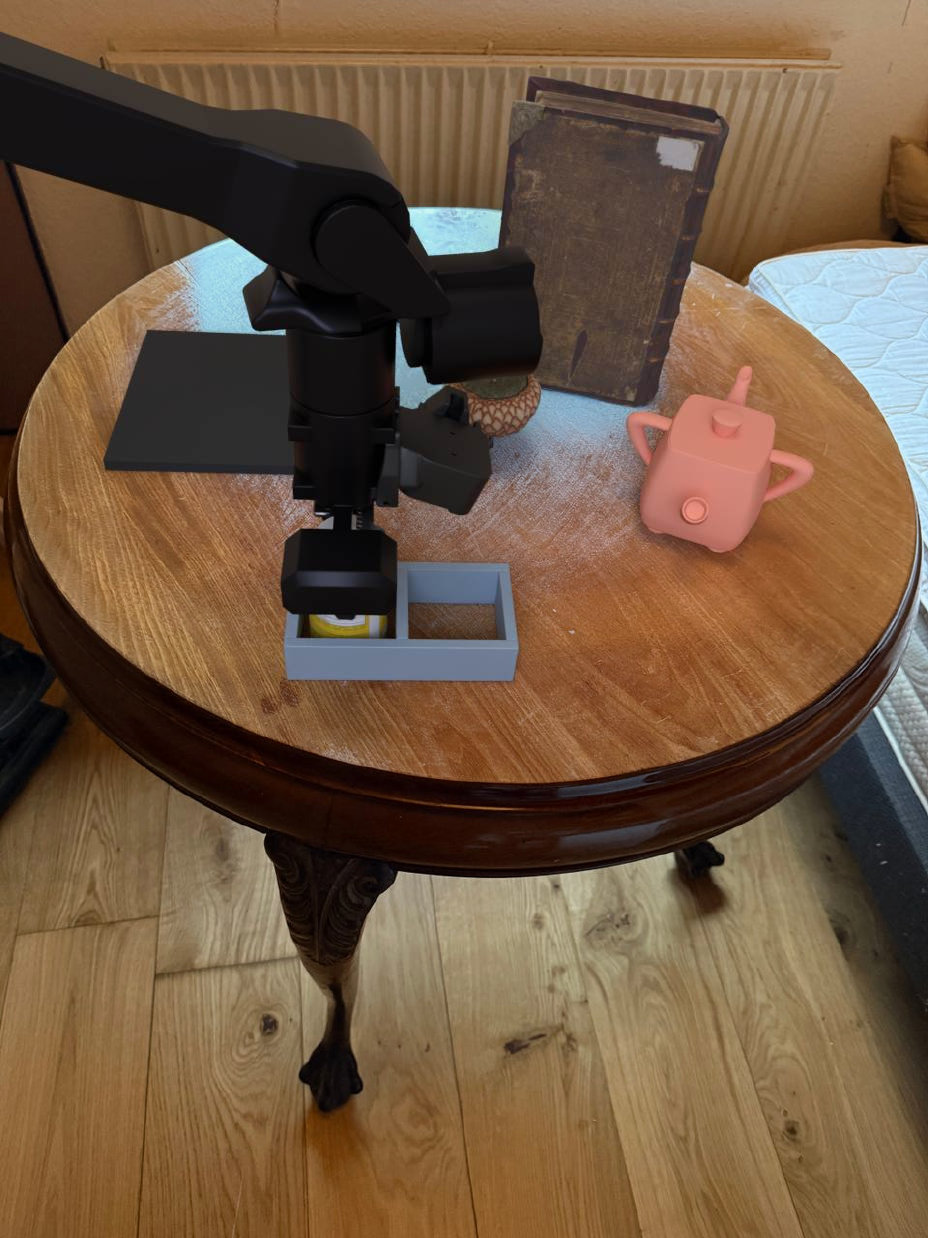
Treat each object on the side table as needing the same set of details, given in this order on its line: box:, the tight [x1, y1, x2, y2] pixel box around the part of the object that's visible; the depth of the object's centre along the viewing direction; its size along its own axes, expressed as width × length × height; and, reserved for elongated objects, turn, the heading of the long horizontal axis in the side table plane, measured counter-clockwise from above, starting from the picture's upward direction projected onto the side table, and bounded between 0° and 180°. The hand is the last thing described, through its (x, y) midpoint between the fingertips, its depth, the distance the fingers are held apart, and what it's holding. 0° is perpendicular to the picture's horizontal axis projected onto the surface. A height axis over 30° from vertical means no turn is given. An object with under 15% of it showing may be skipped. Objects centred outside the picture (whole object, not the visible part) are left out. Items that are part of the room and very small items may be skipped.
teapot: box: [625, 365, 815, 554], centre depth 73 cm, size 14×12×10 cm
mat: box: [102, 329, 295, 476], centre depth 83 cm, size 19×20×1 cm
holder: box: [283, 560, 520, 682], centre depth 64 cm, size 15×8×4 cm, turn 93°
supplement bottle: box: [308, 515, 389, 639], centre depth 62 cm, size 5×5×10 cm
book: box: [497, 74, 730, 408], centre depth 80 cm, size 17×7×25 cm, turn 71°
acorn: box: [443, 374, 542, 450], centre depth 77 cm, size 8×8×10 cm
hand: (347, 586), depth 62 cm, fingers closed on supplement bottle, 5 cm apart
